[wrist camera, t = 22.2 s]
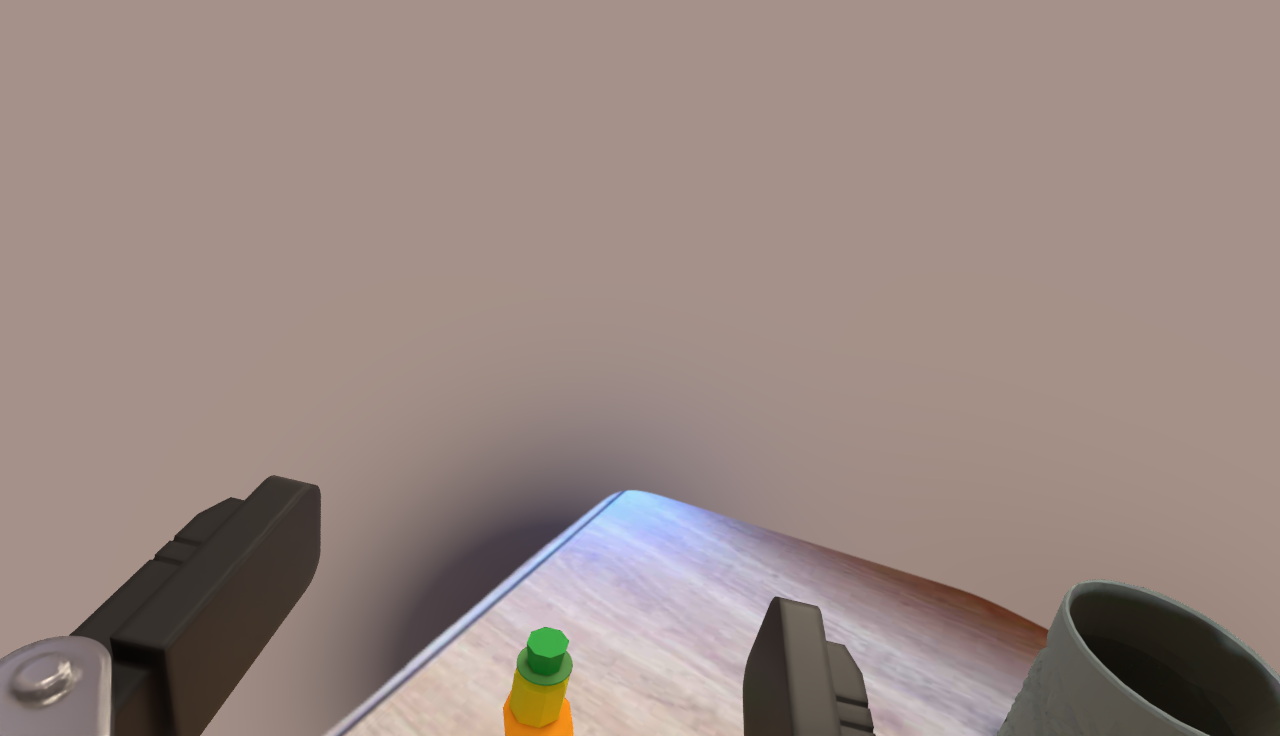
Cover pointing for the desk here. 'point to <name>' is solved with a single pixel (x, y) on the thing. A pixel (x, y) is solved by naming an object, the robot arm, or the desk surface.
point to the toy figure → (540, 688)
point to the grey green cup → (1142, 672)
